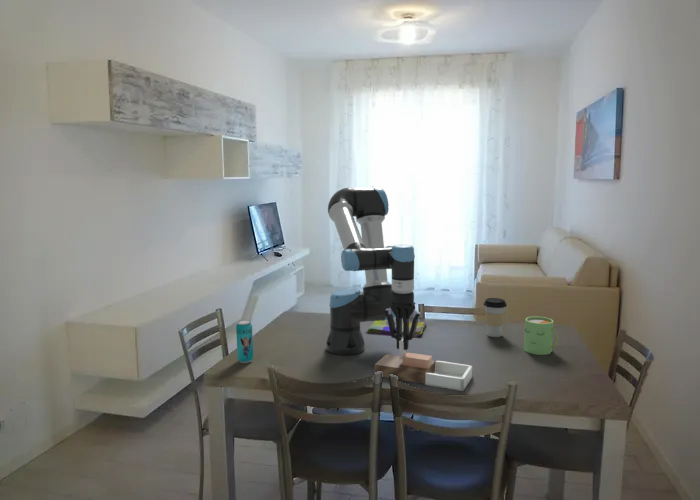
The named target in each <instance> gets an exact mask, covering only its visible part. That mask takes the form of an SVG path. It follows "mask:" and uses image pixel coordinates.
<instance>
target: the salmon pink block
mask: <svg viewBox="0 0 700 500" xmlns="http://www.w3.org/2000/svg"><path fill="white" fill-rule="evenodd" d="M418 355H419V353H415V352H413V353H412V352H407V351H406V354H405V355H404V356H403V357H402V365H406V366H412V367H415V358H416V357H417V356H418Z"/></svg>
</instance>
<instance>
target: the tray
mask: <svg viewBox="0 0 700 500" xmlns="http://www.w3.org/2000/svg"><path fill="white" fill-rule="evenodd" d="M473 368H474V366H473V365H472V364H471V365H470V364H463V363H456V362H449V361H444V360H436V361H435V373H427V372H426V377H425V384H424V385H425V386H430V387H435V388H439V389H441V388H442V389H446V388H447V390H452V391H459V392H464V391H465V389H466V388H467V386H468V385H469V383H470V382H471V380H472V379H473V372H474V370H473Z"/></svg>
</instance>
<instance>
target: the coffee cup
mask: <svg viewBox="0 0 700 500" xmlns="http://www.w3.org/2000/svg"><path fill="white" fill-rule="evenodd" d="M483 306H484V309H485V311H484V316H485V317H484V318H485V326H486V335H487V336H488V337H492V338H500V337H502V335H503V328H504V323H505V316H506V307H507V306H508V305H507V302H506V300H505V299H503V298H498V297H490V298H485V300H484V302H483Z"/></svg>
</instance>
